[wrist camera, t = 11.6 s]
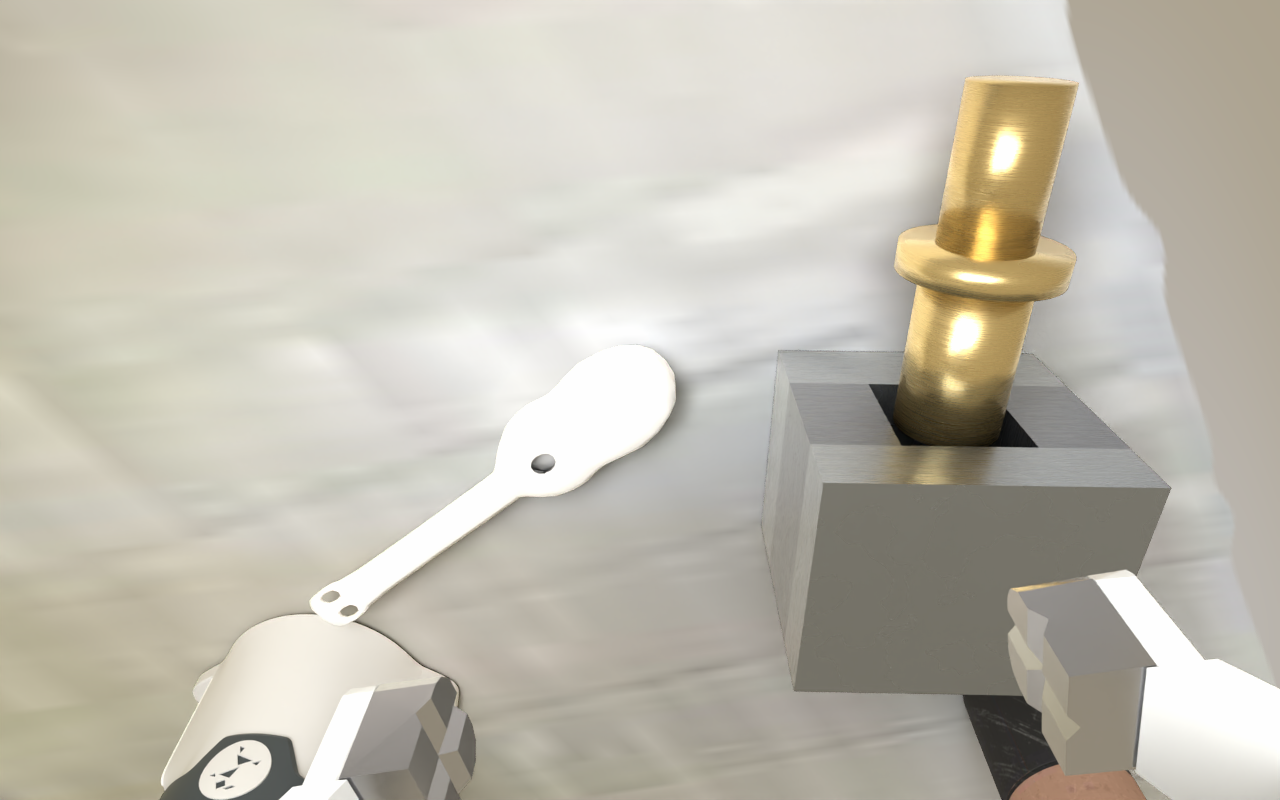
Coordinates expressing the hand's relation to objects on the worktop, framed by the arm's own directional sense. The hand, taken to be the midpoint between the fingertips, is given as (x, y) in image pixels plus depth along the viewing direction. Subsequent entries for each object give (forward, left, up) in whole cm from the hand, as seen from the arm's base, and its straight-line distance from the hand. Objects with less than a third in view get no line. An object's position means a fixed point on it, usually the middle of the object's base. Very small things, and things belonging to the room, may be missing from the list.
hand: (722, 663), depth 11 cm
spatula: (-18, +11, -31) cm, 38 cm away
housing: (-15, -13, -31) cm, 37 cm away
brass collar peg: (-2, -13, -28) cm, 31 cm away
